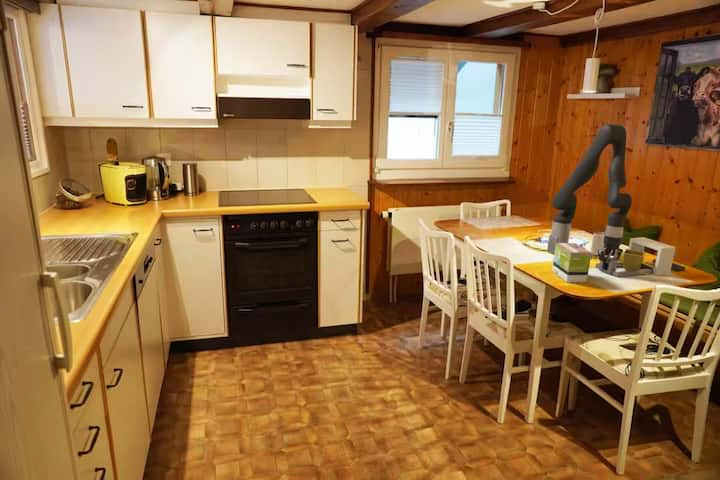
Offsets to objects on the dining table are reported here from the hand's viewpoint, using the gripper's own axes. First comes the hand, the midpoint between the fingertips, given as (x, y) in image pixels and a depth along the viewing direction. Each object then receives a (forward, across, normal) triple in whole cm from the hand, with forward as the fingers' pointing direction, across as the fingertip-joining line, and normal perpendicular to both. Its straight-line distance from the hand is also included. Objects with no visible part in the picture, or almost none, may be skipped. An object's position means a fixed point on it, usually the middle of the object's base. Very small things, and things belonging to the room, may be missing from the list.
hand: (607, 269), depth 235 cm
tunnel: (+2, +26, 0) cm, 26 cm away
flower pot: (+2, +15, 0) cm, 15 cm away
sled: (+1, +10, 0) cm, 10 cm away
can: (+2, +19, +26) cm, 32 cm away
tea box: (+2, -24, -1) cm, 24 cm away
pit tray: (+2, +40, 0) cm, 40 cm away
